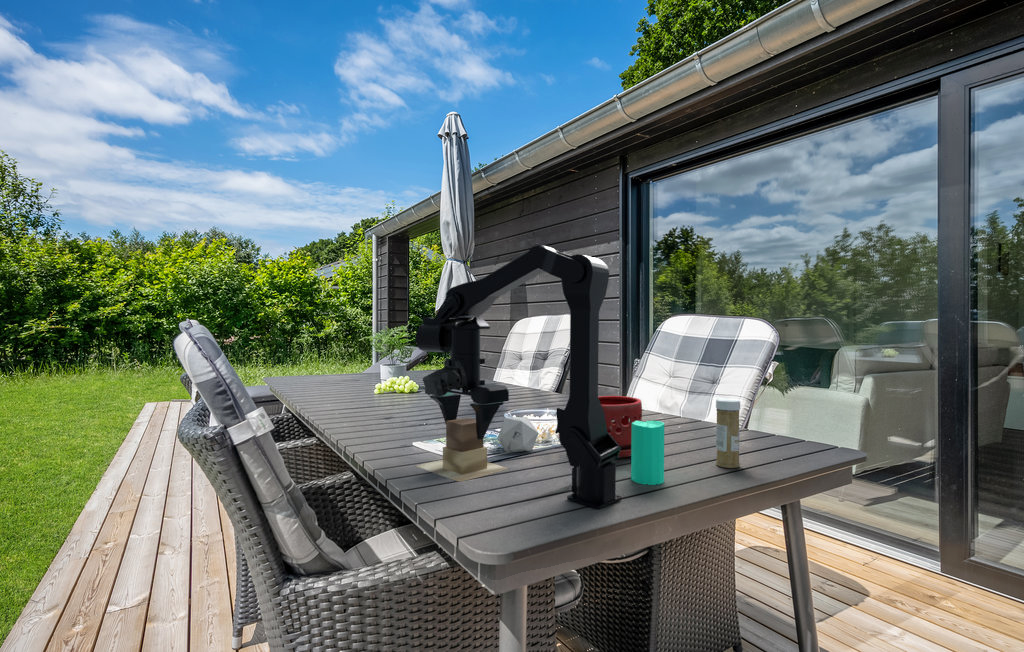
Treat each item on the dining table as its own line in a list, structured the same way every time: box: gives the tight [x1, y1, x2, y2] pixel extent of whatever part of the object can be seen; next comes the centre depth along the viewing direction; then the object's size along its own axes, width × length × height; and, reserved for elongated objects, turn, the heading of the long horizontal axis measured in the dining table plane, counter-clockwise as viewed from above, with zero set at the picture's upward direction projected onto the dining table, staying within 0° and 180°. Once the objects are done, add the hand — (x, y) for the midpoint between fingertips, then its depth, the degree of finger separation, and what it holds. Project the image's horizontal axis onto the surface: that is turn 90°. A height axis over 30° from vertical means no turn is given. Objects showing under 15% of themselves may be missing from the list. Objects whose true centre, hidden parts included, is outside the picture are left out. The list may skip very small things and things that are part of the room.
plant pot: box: [598, 395, 643, 459], centre depth 117 cm, size 13×13×12 cm
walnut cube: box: [445, 417, 484, 452], centre depth 101 cm, size 5×5×5 cm
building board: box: [415, 458, 510, 483], centre depth 102 cm, size 14×12×1 cm
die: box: [497, 416, 540, 453], centre depth 116 cm, size 8×9×10 cm
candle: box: [630, 420, 665, 486], centre depth 98 cm, size 6×6×12 cm
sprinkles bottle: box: [715, 397, 741, 469], centre depth 107 cm, size 5×5×13 cm
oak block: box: [442, 445, 488, 475], centre depth 101 cm, size 6×6×4 cm
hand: (465, 435), depth 101 cm, fingers open, 9 cm apart
